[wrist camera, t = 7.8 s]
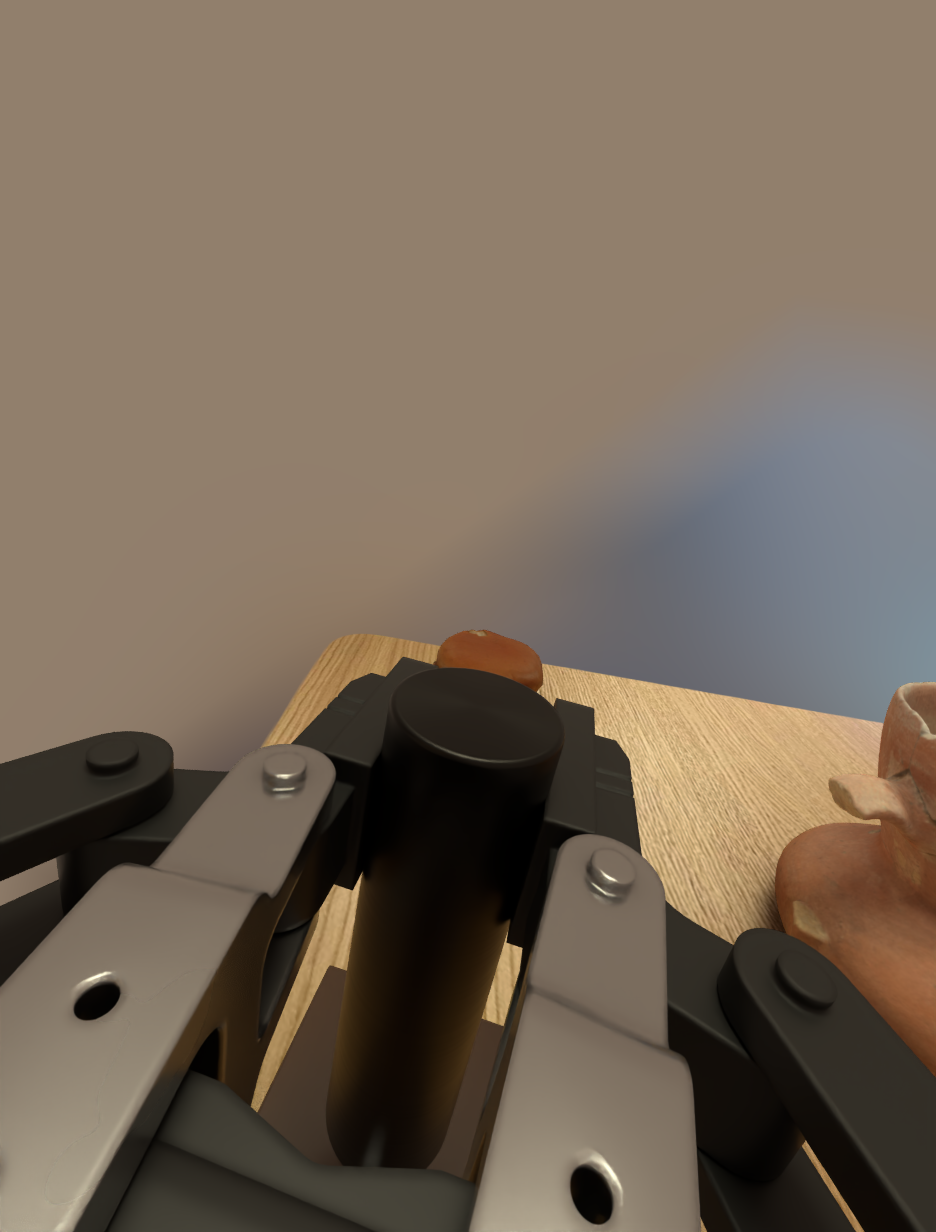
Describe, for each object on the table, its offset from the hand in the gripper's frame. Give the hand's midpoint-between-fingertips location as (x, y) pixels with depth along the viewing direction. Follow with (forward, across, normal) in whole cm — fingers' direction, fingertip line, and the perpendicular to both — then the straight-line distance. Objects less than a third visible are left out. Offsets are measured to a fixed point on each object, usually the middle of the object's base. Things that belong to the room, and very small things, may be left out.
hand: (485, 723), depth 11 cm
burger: (+32, +3, +17) cm, 36 cm away
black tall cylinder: (-3, 0, +15) cm, 15 cm away
